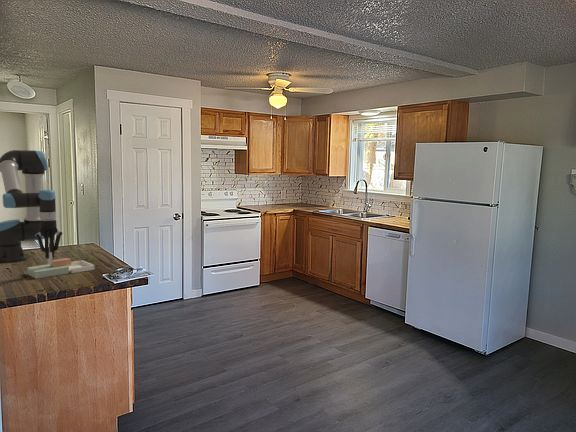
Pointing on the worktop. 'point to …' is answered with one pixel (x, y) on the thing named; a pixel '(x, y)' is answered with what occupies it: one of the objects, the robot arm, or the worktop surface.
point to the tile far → (66, 261)
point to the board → (46, 271)
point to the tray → (80, 266)
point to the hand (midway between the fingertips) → (50, 264)
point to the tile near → (56, 263)
